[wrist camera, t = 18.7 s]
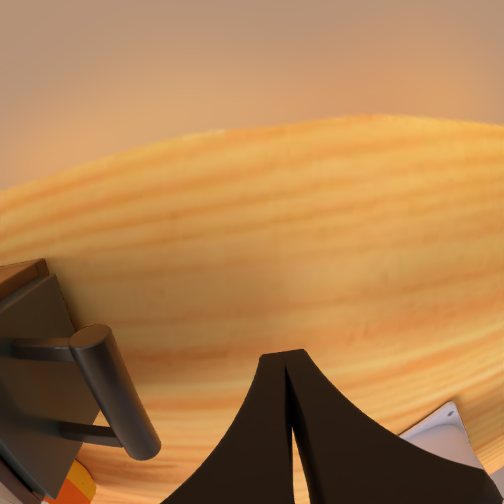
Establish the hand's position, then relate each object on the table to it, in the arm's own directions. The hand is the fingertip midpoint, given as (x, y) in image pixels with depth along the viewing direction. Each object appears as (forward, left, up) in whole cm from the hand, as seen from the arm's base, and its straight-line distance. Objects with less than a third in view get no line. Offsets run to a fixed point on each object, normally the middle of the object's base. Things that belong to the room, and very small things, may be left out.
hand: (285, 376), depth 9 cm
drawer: (+7, +11, -3) cm, 13 cm away
